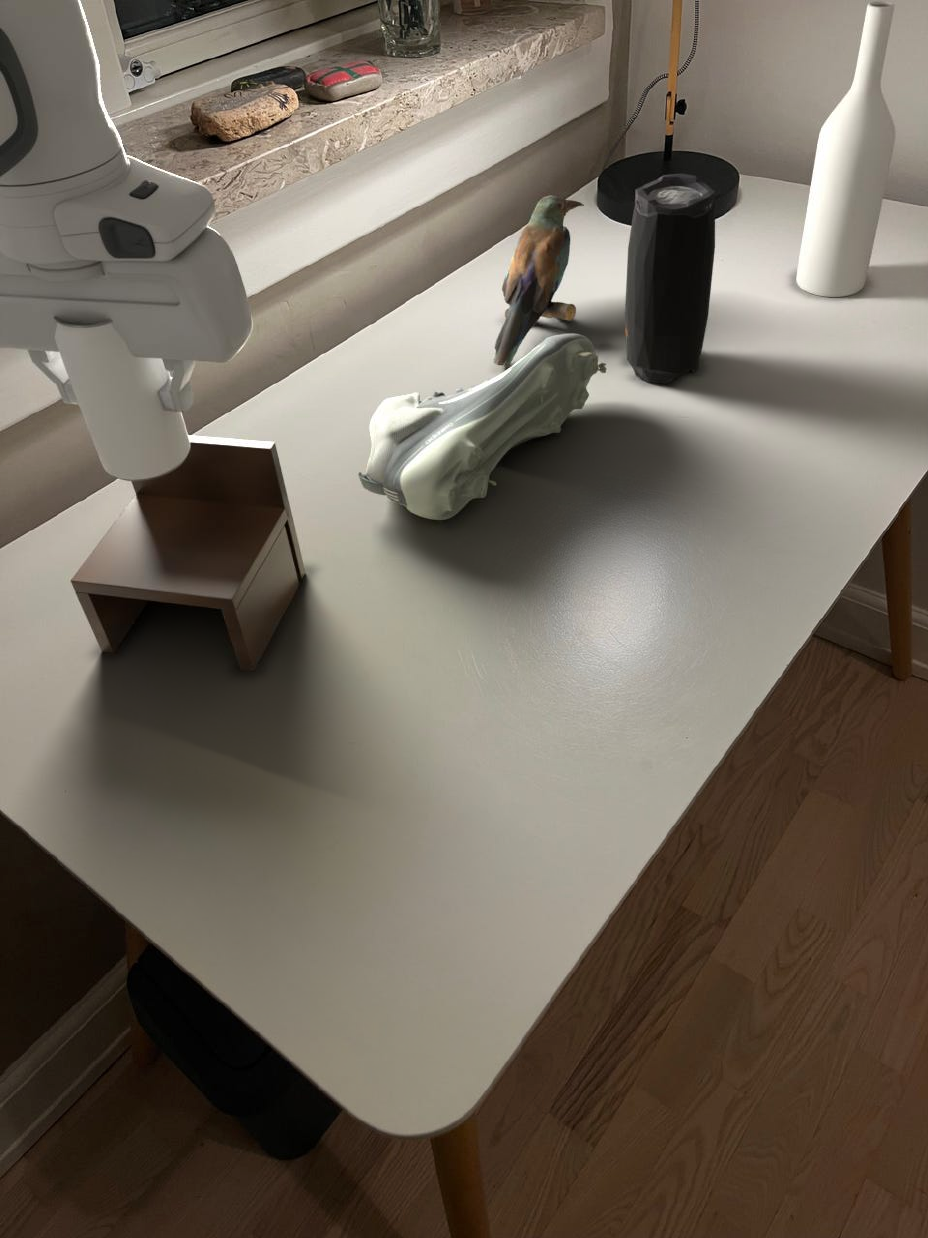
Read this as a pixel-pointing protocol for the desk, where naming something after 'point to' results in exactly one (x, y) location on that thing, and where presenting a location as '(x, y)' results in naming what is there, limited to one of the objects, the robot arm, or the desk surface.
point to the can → (122, 402)
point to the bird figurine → (535, 276)
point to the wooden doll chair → (200, 547)
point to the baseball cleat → (474, 428)
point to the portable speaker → (669, 276)
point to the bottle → (850, 173)
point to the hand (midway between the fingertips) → (130, 403)
